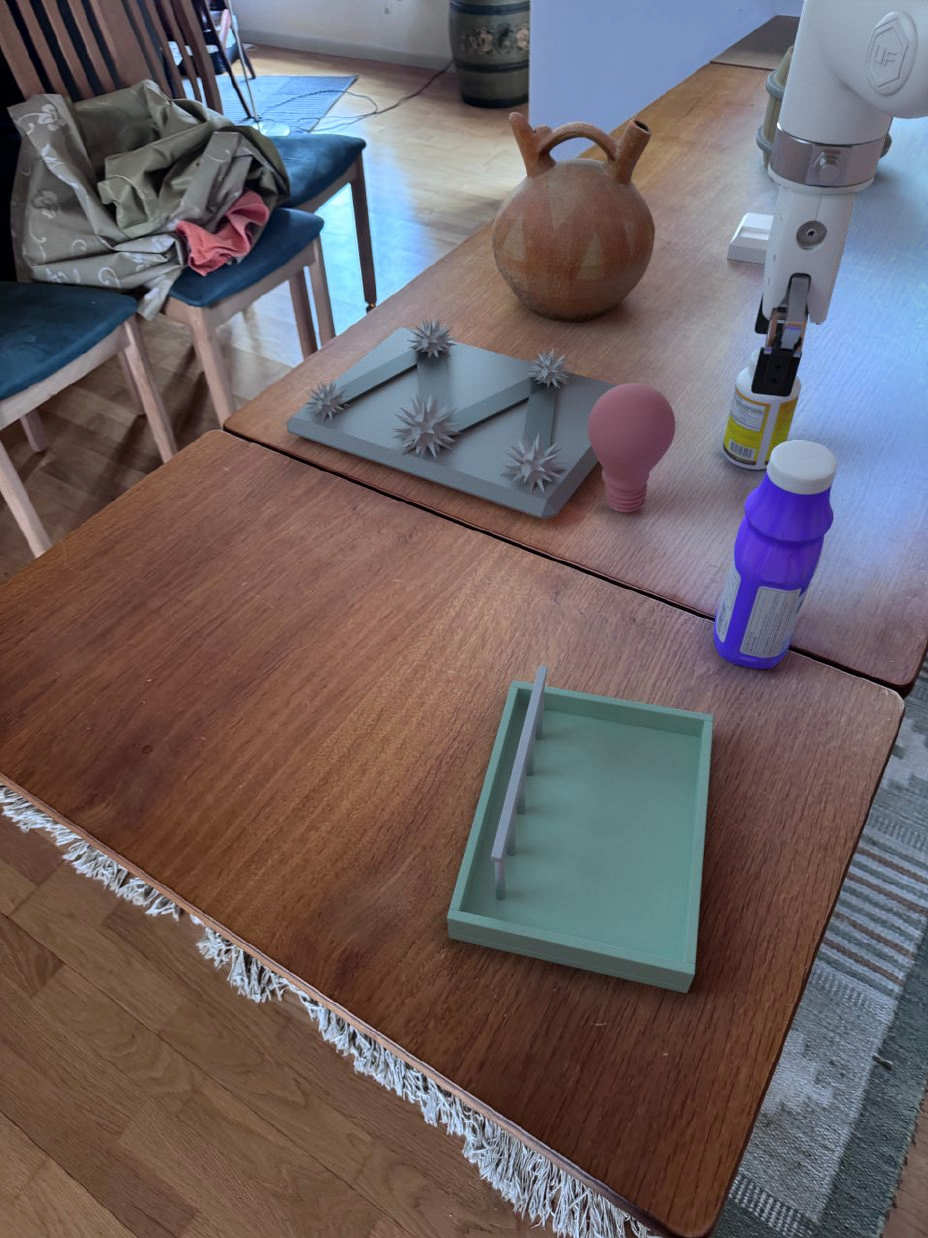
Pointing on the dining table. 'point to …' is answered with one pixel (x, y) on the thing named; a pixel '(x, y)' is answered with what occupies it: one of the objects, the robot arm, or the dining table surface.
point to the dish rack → (590, 836)
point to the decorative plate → (462, 418)
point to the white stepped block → (751, 239)
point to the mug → (776, 91)
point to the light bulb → (630, 440)
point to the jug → (574, 223)
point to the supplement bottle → (757, 421)
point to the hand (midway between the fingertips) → (770, 362)
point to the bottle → (776, 555)
